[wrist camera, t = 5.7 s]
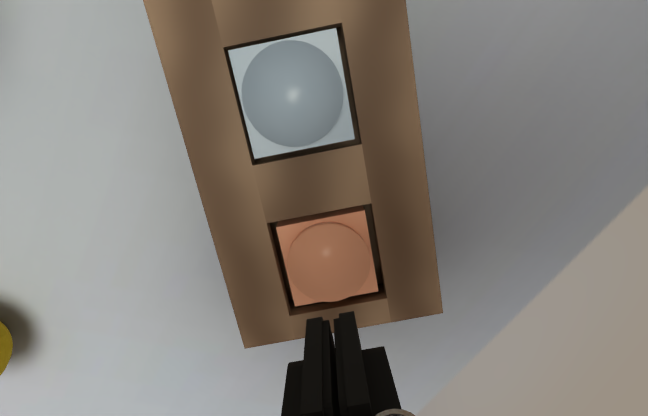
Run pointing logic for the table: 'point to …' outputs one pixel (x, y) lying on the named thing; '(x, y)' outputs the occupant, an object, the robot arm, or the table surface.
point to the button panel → (304, 157)
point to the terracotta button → (328, 255)
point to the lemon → (5, 347)
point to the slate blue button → (293, 93)
